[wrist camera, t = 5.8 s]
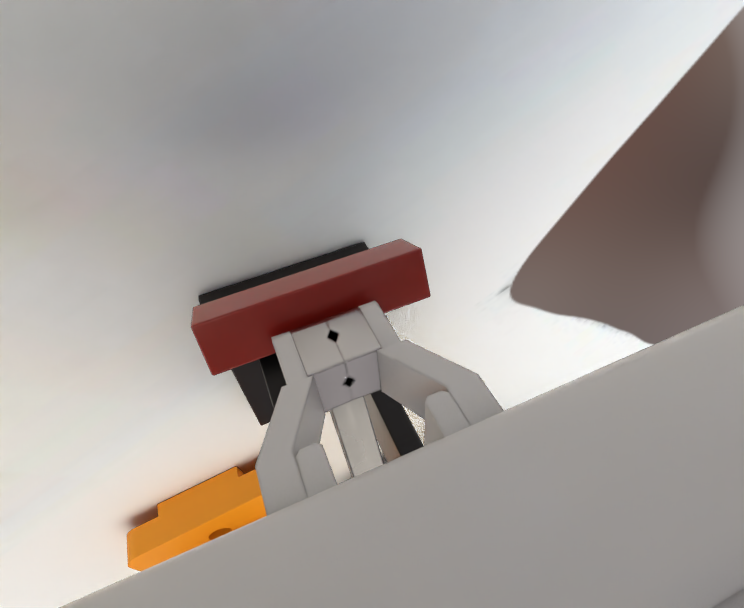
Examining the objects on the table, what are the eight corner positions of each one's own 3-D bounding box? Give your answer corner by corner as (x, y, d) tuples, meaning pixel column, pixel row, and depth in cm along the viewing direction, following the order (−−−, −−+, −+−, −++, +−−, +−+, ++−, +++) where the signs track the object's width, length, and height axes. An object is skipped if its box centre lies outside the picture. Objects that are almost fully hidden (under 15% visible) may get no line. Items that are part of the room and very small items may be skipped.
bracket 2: (197, 295, 20) (269, 633, 12) (364, 241, 22) (534, 501, 13) (256, 409, 28) (326, 668, 19) (377, 362, 29) (493, 580, 21)
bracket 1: (271, 449, 31) (327, 650, 23) (303, 484, 37) (357, 657, 29) (119, 522, 30) (125, 761, 22) (176, 547, 35) (197, 745, 28)
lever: (192, 301, 13) (189, 332, 11) (396, 235, 15) (428, 251, 12) (314, 584, 18) (328, 643, 16) (457, 514, 20) (487, 560, 17)
